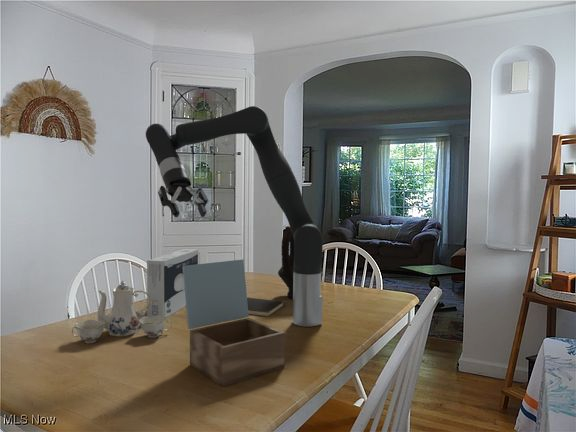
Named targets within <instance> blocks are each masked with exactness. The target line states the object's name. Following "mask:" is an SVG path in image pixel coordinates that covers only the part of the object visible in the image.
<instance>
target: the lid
mask: <svg viewBox="0 0 576 432" xmlns="http://www.w3.org/2000/svg"><path fill="white" fill-rule="evenodd" d="M183 274H184V286H185V298H186V306H185V307H186V308H185V309H186V320H187V329H188V330H193V329H198V328H203V327H208V326H213V325H217V324H222V323H227V322H232V321H237V320H241V319H246V318H249V315H250V314H248V304H247V298H248V295H247V285H246V283H247V281H246V273H245V260H244V259H237V260H236V259H235V260H226V261H225V260H224V261H216V262H208V263H198V264H196V265H187V266H183Z"/></svg>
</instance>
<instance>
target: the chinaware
mask: <svg viewBox="0 0 576 432" xmlns="http://www.w3.org/2000/svg"><path fill="white" fill-rule="evenodd" d="M134 290H135V288H134V287H130V286H129V284H126V282H125V280H121V282H120V284H118V285H117V287H115V288H113V289H111V291H112V296H113V303H112V308H111V311H110V313H106V310H107V309H106V306H107V300H108V299H107V294H106V292H105V291H103V290H98V291H97V292H98V293H99V294H100V295H101V297H100V302H99V305H98V309H97V320H95V319H87V320H85V321H83V322H76V323H75V324H74V326H73V327H72V329H71V333H72V335H73V336H74V337H75V338H76V337H77V338H78V337H79V338H80V340H81V341H84V343H86V344H92V343H93V344H95V342H98V338H100V337H101V336H102V334H103V332H104V329H105V330H107V331H108V334H109V336H112V337H127V336H131V335H135V334H137V333H138V329H139V328H141V330H142V332H143V333H145V334H146V335H147V337H148V338H150V339H151V338H157V337H159V335H160V334H164V331H169V330H171V329H172V327H173V322H172V321H171V320H169V318H168V317H169V316H168V317H162V316H160V315H154V316H152V317H151V318H150V317H147V315H146V311H145V310H147V308H148V306H149V305H150V302H151V298H150V295H149V294H148V293H147V291H145V290H141V289H140V290H135V291H134ZM139 293H144V294H145V295H146V296H148V298H149V302H148V305H147V304H146V306H145V307H143V308H141V309H138V310H137V311H136V308H135V305H134V301H133V296H134V297H135V298H137V297H139ZM145 315H146V316H145ZM168 322H170V327H169V328H168V329H165V325H166V324H167V323H168ZM74 329H75V330H76V332H77V334H78V335H76V334H75V333H74Z"/></svg>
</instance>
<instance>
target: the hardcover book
mask: <svg viewBox="0 0 576 432" xmlns="http://www.w3.org/2000/svg"><path fill="white" fill-rule="evenodd" d="M247 304H248V315H256V316H265V317H268V316H269V315H271V314H273V313H275V312H276V311H277V310H279V309H281V307H283V306H285V303H284V301H283V300H275V299H274V300H273V299H266V298H265V299H264V298H254V297H247Z"/></svg>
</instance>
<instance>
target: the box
mask: <svg viewBox="0 0 576 432" xmlns="http://www.w3.org/2000/svg"><path fill="white" fill-rule="evenodd" d="M285 333H286V332H284V331H282V330H279V329H276V328H275V327H271V326H269V325H268V324H264V323H262V322H259V321H257V320H254V319H252V318H249V317H246V318H241V319H236V320H231V321H227V322H222V323H217V324H212V325H207V326H202V327H197V328H193V329H189V365H190V367H192V368H193V369H195V370H197V371H198V372H200V373H202V374H203V375H205V376H206V377H207V378H209V379H210V380H211V381H212V382H215V383H216V384H217V385H219V386H220V387H227V386H230V385H233V384H235V383H236V384H237V383H239V382H240V383H241V382H242V381H243V382H244V381H247V380H249V379H253V378H256V377H259V376H262V375H265V374H268V373H272V372H275V371H278V370H282V369H284V368H285V345H286V344H285V341H286V340H285V339H286V334H285Z"/></svg>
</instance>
